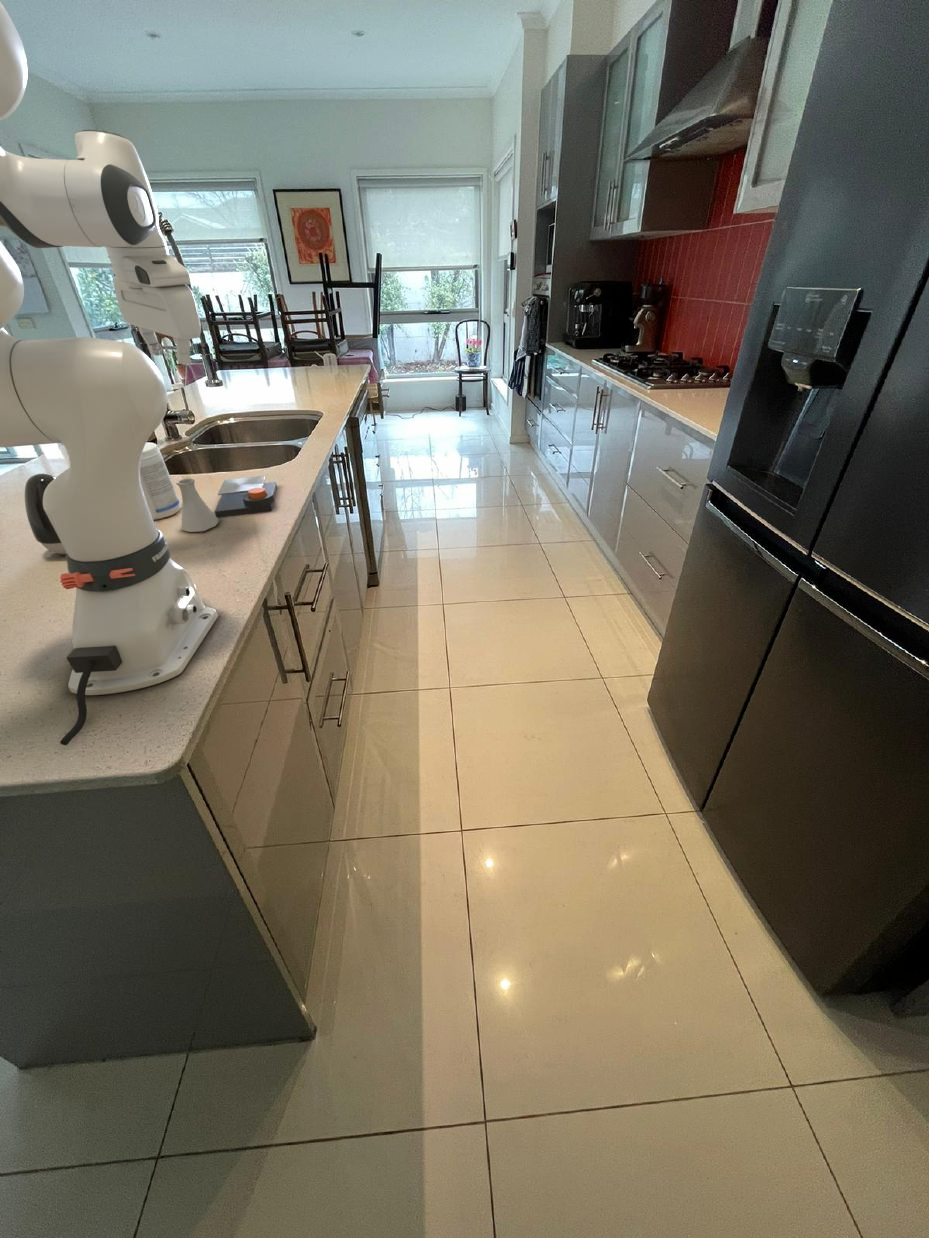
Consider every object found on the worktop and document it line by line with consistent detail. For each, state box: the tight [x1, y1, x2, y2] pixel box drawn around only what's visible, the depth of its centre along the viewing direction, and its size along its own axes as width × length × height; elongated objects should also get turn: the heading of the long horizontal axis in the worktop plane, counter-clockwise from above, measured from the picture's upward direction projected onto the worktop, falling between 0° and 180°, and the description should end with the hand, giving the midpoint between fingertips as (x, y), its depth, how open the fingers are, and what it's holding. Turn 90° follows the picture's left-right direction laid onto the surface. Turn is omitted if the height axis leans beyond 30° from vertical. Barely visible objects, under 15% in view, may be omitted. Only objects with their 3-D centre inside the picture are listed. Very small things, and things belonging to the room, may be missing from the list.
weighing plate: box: [217, 475, 266, 496], centre depth 122 cm, size 10×10×1 cm
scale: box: [214, 481, 278, 518], centre depth 121 cm, size 16×13×3 cm
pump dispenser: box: [24, 473, 67, 555], centre depth 99 cm, size 10×10×15 cm
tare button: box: [248, 488, 267, 499], centre depth 116 cm, size 4×4×2 cm
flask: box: [176, 477, 220, 533], centre depth 108 cm, size 7×7×10 cm
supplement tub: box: [140, 441, 182, 521], centre depth 113 cm, size 10×10×15 cm
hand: (171, 359), depth 93 cm, fingers open, 8 cm apart
